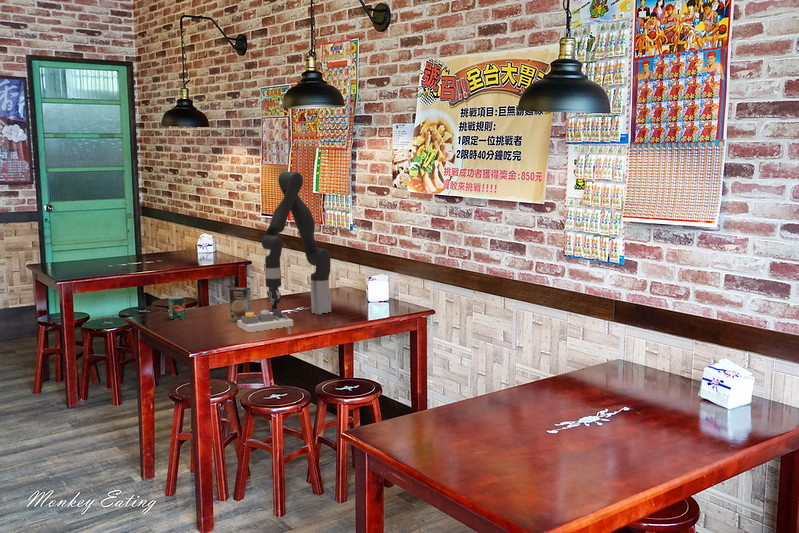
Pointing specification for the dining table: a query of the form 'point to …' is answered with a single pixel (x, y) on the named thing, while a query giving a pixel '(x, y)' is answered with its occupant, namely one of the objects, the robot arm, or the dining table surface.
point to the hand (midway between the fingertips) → (274, 311)
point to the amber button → (249, 315)
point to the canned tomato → (176, 307)
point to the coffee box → (239, 302)
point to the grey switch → (265, 313)
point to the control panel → (264, 322)
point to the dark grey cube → (277, 312)
